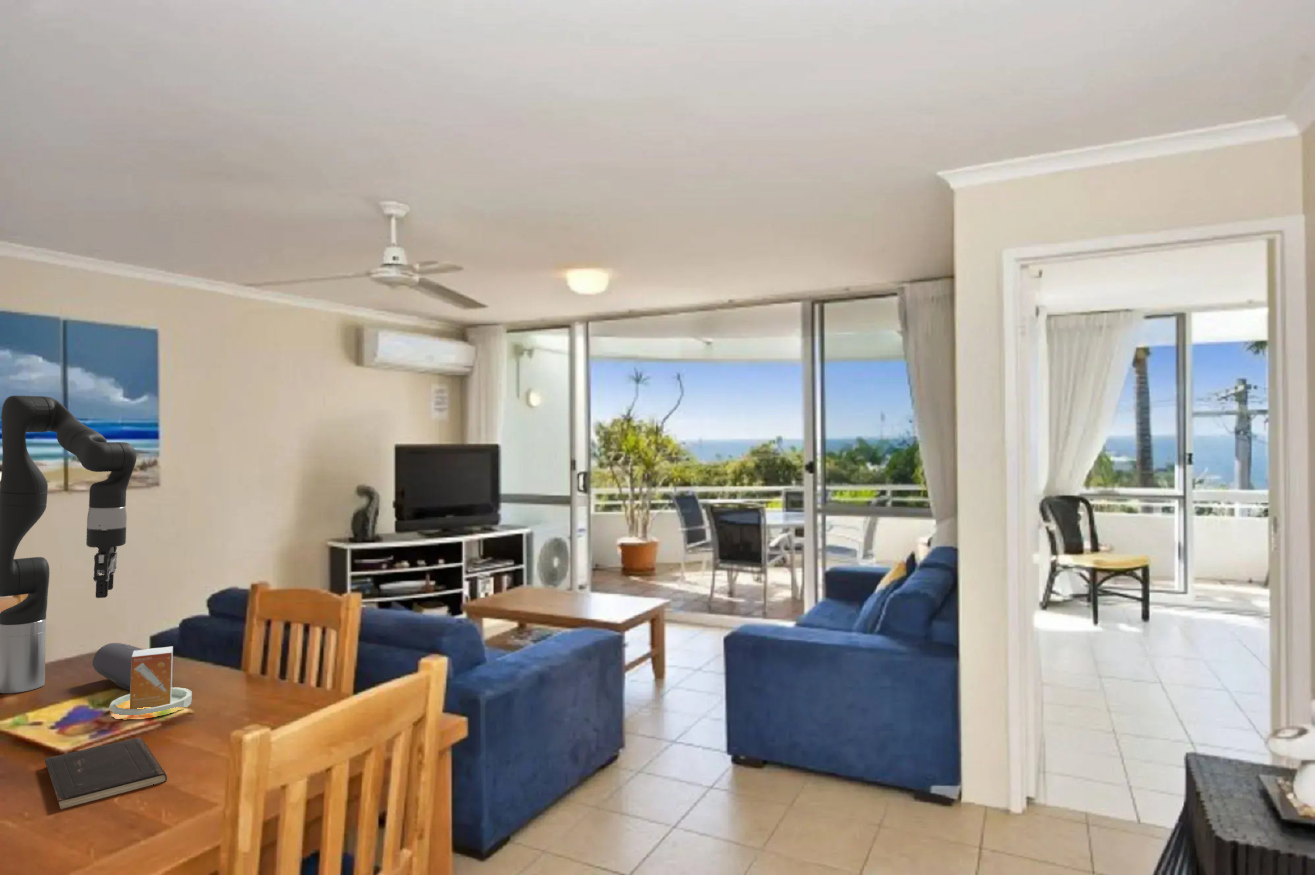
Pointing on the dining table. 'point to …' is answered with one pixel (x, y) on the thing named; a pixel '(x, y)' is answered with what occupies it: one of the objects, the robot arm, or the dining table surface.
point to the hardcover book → (103, 771)
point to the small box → (151, 677)
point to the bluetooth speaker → (115, 663)
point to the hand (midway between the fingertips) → (104, 593)
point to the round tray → (178, 699)
